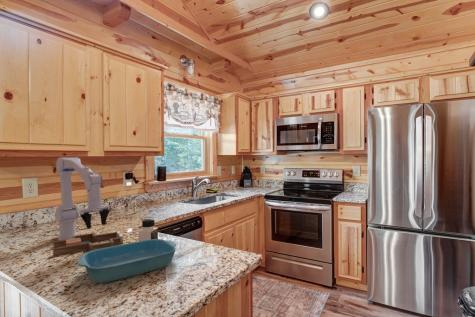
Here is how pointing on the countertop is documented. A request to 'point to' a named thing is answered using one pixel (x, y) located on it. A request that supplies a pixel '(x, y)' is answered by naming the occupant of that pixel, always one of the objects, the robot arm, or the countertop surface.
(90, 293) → the countertop surface
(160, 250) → the casserole dish
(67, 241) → the block
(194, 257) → the countertop surface
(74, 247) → the trap lane
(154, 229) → the medicine bottle
